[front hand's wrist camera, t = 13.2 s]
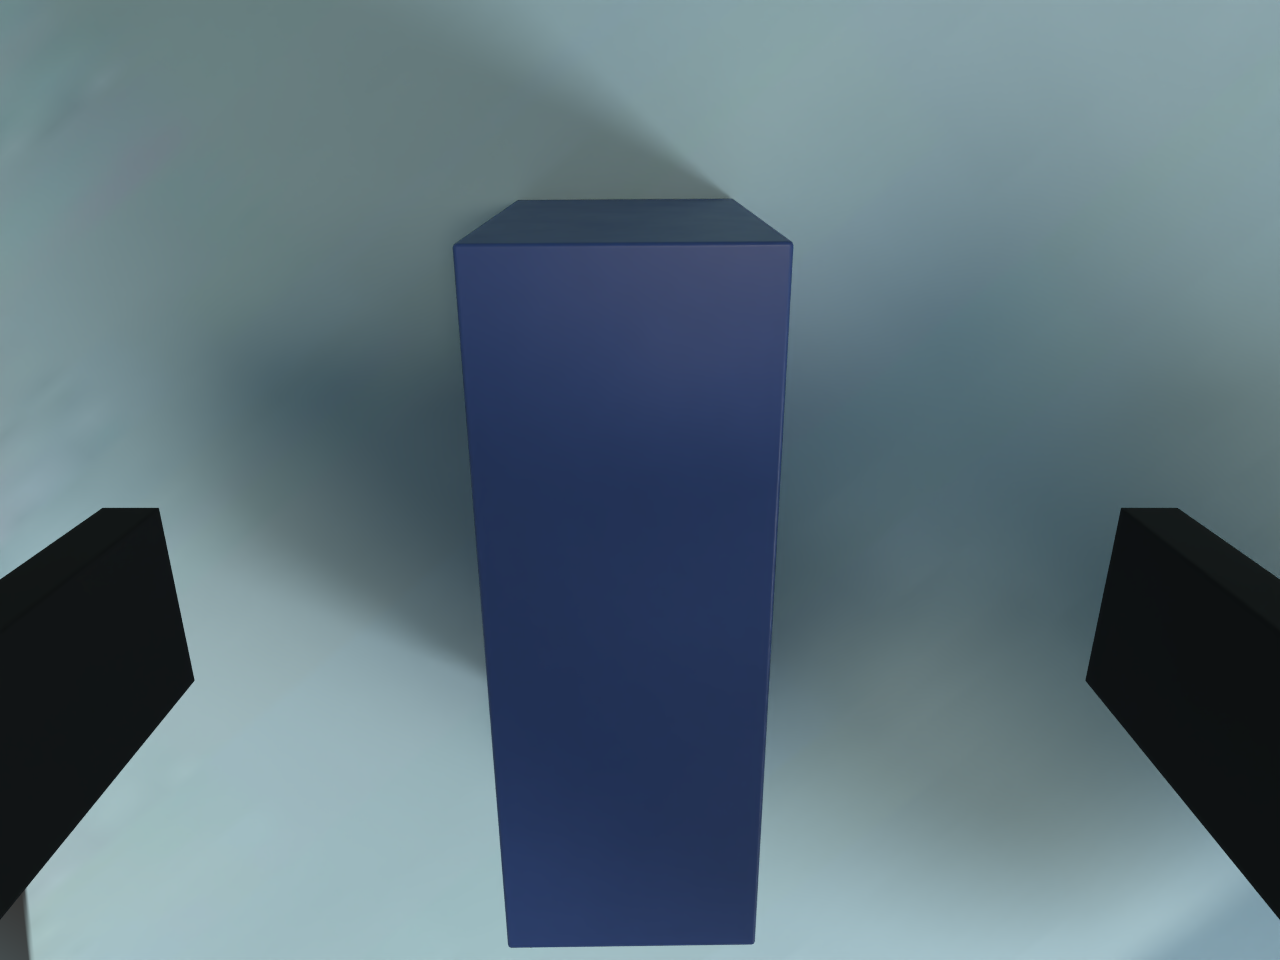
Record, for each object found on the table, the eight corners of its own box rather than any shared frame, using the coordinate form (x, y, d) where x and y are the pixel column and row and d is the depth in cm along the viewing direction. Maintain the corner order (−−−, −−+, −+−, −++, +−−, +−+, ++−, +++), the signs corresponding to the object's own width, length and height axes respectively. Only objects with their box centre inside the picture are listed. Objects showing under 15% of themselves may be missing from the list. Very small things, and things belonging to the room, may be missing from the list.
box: (516, 199, 31) (451, 244, 20) (734, 198, 31) (794, 241, 20) (543, 708, 39) (507, 949, 27) (718, 706, 39) (755, 945, 27)
